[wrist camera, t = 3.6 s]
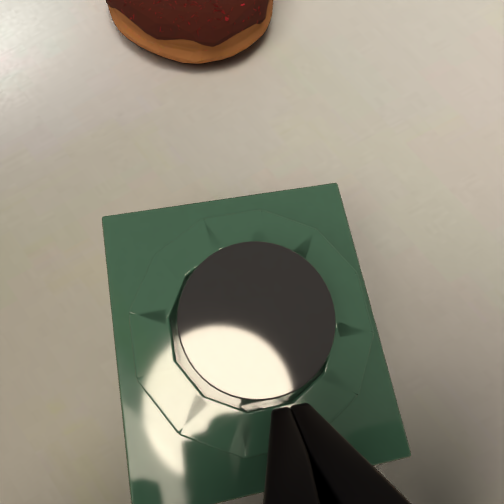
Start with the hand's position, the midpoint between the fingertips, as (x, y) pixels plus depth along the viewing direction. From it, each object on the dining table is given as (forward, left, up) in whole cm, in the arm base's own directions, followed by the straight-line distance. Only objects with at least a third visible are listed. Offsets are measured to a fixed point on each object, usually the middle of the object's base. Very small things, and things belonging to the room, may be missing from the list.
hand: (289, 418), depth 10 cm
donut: (+20, -11, -11) cm, 26 cm away
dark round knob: (+2, -1, -3) cm, 4 cm away
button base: (+2, -1, -11) cm, 11 cm away
